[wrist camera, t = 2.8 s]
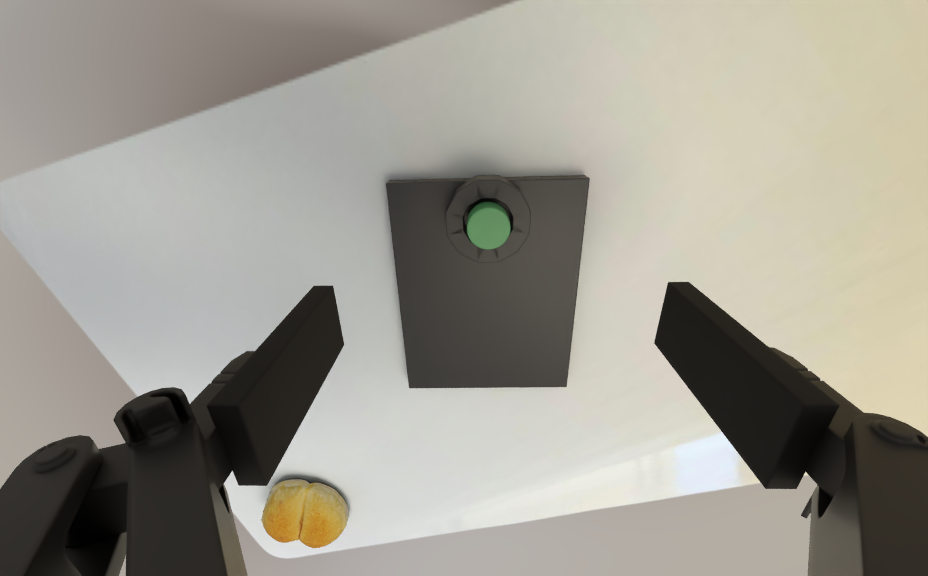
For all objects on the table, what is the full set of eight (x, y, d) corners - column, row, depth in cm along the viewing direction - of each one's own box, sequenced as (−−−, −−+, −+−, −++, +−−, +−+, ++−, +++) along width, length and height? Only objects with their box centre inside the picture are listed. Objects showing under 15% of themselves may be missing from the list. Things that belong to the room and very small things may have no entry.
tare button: (466, 201, 25) (466, 208, 24) (508, 200, 25) (511, 207, 24) (467, 241, 27) (467, 250, 25) (507, 241, 26) (510, 249, 25)
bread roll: (343, 531, 45) (332, 568, 41) (267, 513, 44) (248, 550, 40) (358, 487, 42) (348, 523, 38) (276, 467, 40) (257, 502, 37)
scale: (388, 175, 27) (379, 182, 25) (585, 169, 27) (598, 177, 24) (411, 379, 35) (405, 402, 32) (563, 378, 35) (571, 401, 32)
